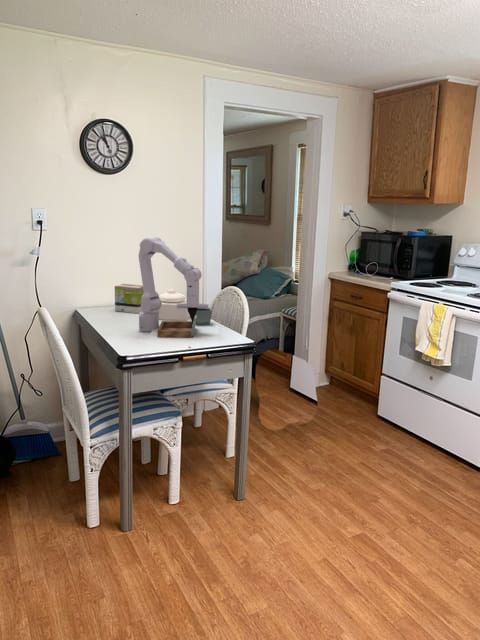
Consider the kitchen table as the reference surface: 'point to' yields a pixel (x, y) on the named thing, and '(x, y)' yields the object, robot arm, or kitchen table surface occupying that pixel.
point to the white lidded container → (173, 306)
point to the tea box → (128, 298)
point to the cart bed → (175, 329)
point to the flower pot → (203, 316)
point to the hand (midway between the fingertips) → (192, 323)
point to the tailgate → (194, 325)
